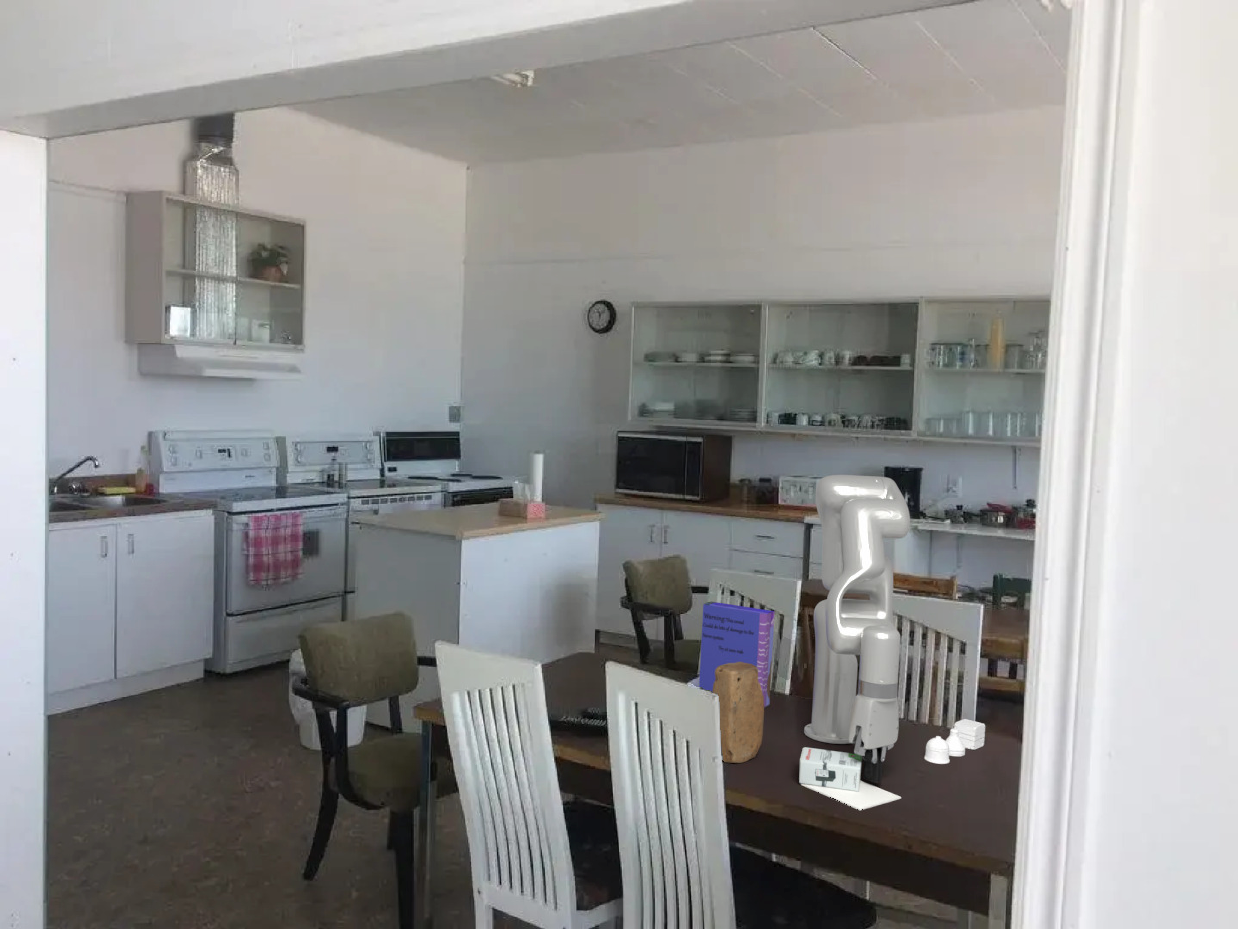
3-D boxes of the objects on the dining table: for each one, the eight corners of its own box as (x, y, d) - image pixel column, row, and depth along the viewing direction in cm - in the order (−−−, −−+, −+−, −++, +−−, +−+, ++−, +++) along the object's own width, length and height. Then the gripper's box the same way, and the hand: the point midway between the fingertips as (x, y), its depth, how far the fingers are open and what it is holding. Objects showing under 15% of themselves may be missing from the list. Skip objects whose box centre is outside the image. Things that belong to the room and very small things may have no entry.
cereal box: (769, 705, 263) (774, 610, 262) (761, 709, 259) (767, 613, 258) (706, 692, 272) (711, 600, 271) (698, 696, 268) (703, 603, 267)
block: (727, 767, 216) (732, 671, 215) (704, 756, 223) (709, 663, 221) (766, 758, 223) (771, 666, 221) (742, 748, 229) (747, 657, 228)
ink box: (860, 777, 213) (801, 768, 216) (862, 754, 213) (803, 745, 216) (858, 793, 205) (797, 783, 208) (860, 768, 204) (799, 759, 207)
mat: (841, 774, 215) (841, 773, 215) (901, 798, 203) (901, 797, 203) (800, 784, 208) (801, 783, 208) (859, 810, 196) (859, 809, 196)
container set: (962, 741, 242) (964, 718, 241) (984, 747, 238) (986, 723, 238) (919, 760, 227) (921, 735, 227) (942, 766, 224) (943, 741, 223)
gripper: (886, 680, 215) (881, 768, 216) (837, 689, 206) (832, 781, 207) (917, 689, 209) (911, 779, 210) (867, 698, 200) (862, 793, 201)
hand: (872, 780), depth 209 cm, fingers closed
